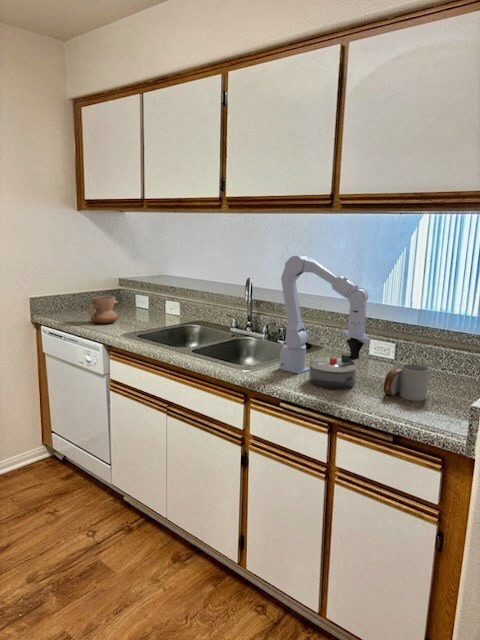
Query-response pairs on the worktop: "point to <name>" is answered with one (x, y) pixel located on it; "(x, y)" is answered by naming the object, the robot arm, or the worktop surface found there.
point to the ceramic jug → (103, 310)
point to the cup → (414, 382)
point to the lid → (334, 364)
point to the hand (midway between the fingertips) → (354, 358)
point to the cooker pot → (332, 379)
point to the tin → (393, 381)
